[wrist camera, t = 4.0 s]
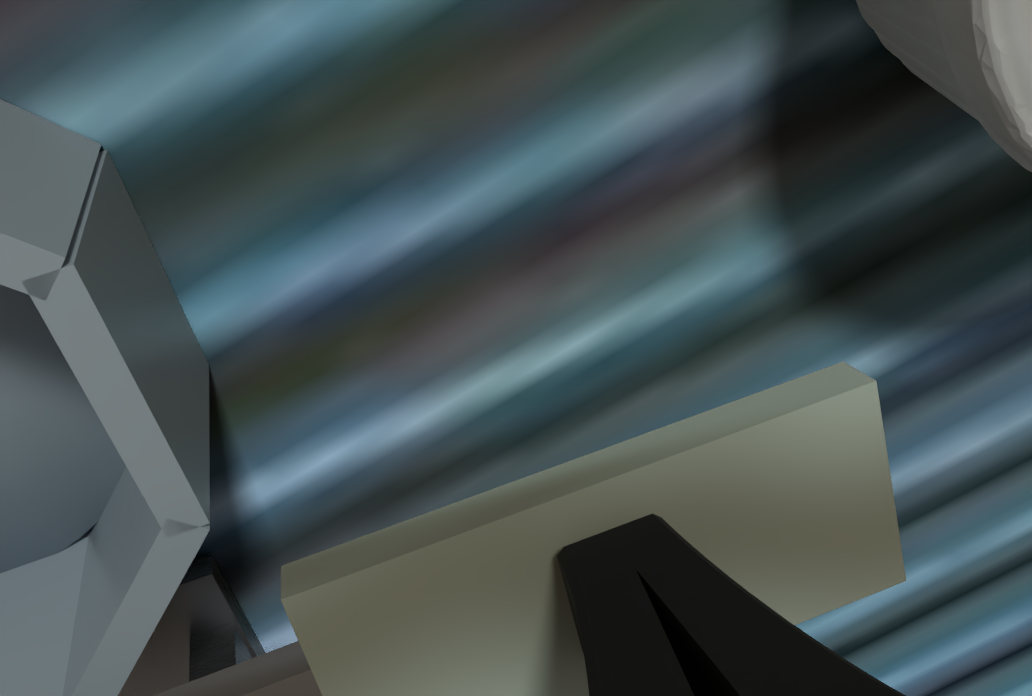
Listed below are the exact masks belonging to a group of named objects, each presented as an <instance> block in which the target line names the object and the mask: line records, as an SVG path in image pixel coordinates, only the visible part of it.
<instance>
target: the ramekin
mask: <svg viewBox="0 0 1032 696" xmlns="http://www.w3.org/2000/svg"><path fill="white" fill-rule="evenodd" d="M855 1H856V2H857V5H858V8H859V10H860V13H861V15H862V17H863V19H864V20H865V21H866V23H867V24H868V25H869V26H870V27H871V28H872V29H873V30H874V31H875V33H876V34H877V36H878V38H879V40H880V41H881V43H882V44H883V45H884V47H885V48H886V49H888V50H889V51H890V52H891V53H892V54H893V55H895V56H896V57H897V58H899V59H900V60H901V62H902V63H903V64H904V65H905V66H906V67H907V68H908V69H909V70H910V71H911V72H912V73H913V74H915V75H916V76H917V77H919V78H920V79H921V80H923V81H924V82H926V83H927V84H928V85H930V86H931V87H932V88H934V89H935V90H936V91H938V92H939V93H941V94H942V95H943V96H945V97H946V98H947V99H949V100H950V101H952V102H953V103H954V104H956V105H957V106H958V107H960V108H961V109H963V110H964V111H965V112H967V113H968V114H969V115H971V116H972V117H974V118H975V119H977V120H978V121H979V122H980V124H981V125H982V126H983V127H984V129H985V130H986V131H987V133H988V134H989V135H990V137H991V138H992V139H993V140H994V141H995V142H996V143H997V144H998V145H999V146H1000V147H1001V148H1002V149H1003V150H1004V151H1005V152H1006V153H1007V154H1008V155H1009V156H1010V157H1012V158H1013V159H1014V160H1015V161H1016V162H1018V163H1019V164H1020V165H1021V166H1022V167H1024V168H1025V169H1027V170H1028V171H1030V172H1031V173H1032V0H855Z"/></svg>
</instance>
